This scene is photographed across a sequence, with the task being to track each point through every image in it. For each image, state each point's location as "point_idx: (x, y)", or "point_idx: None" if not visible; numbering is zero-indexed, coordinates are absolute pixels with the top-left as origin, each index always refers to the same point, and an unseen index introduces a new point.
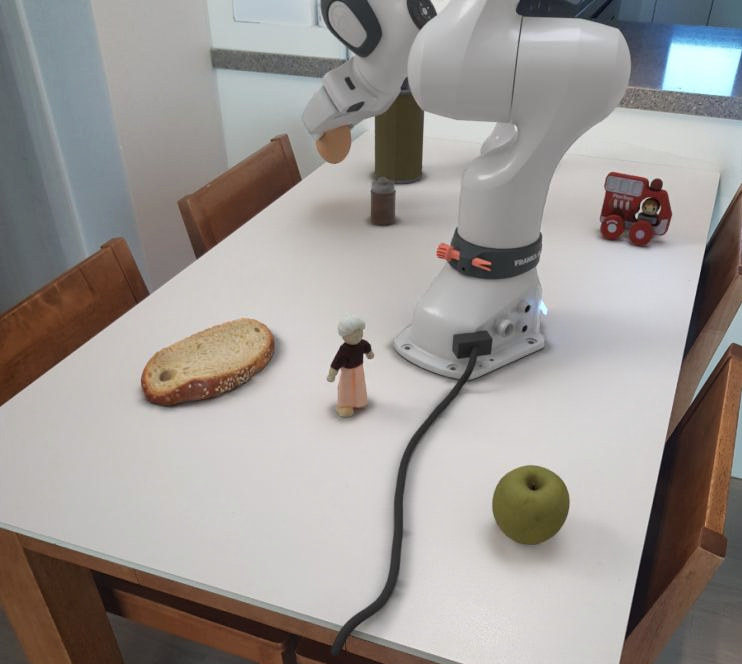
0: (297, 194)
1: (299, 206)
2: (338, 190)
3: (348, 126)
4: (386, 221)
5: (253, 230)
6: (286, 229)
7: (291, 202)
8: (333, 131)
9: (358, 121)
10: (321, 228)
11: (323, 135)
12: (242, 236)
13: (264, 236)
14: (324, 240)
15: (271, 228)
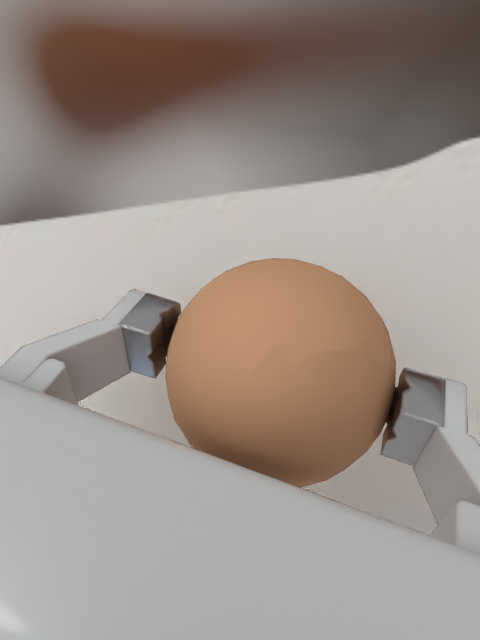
0: (349, 195)
1: (257, 259)
2: (454, 302)
3: (308, 481)
4: None
5: (57, 241)
6: (94, 317)
7: (276, 218)
8: (177, 423)
9: (436, 521)
10: (135, 405)
11: (138, 372)
12: (18, 239)
13: (36, 289)
14: None
15: (85, 276)
